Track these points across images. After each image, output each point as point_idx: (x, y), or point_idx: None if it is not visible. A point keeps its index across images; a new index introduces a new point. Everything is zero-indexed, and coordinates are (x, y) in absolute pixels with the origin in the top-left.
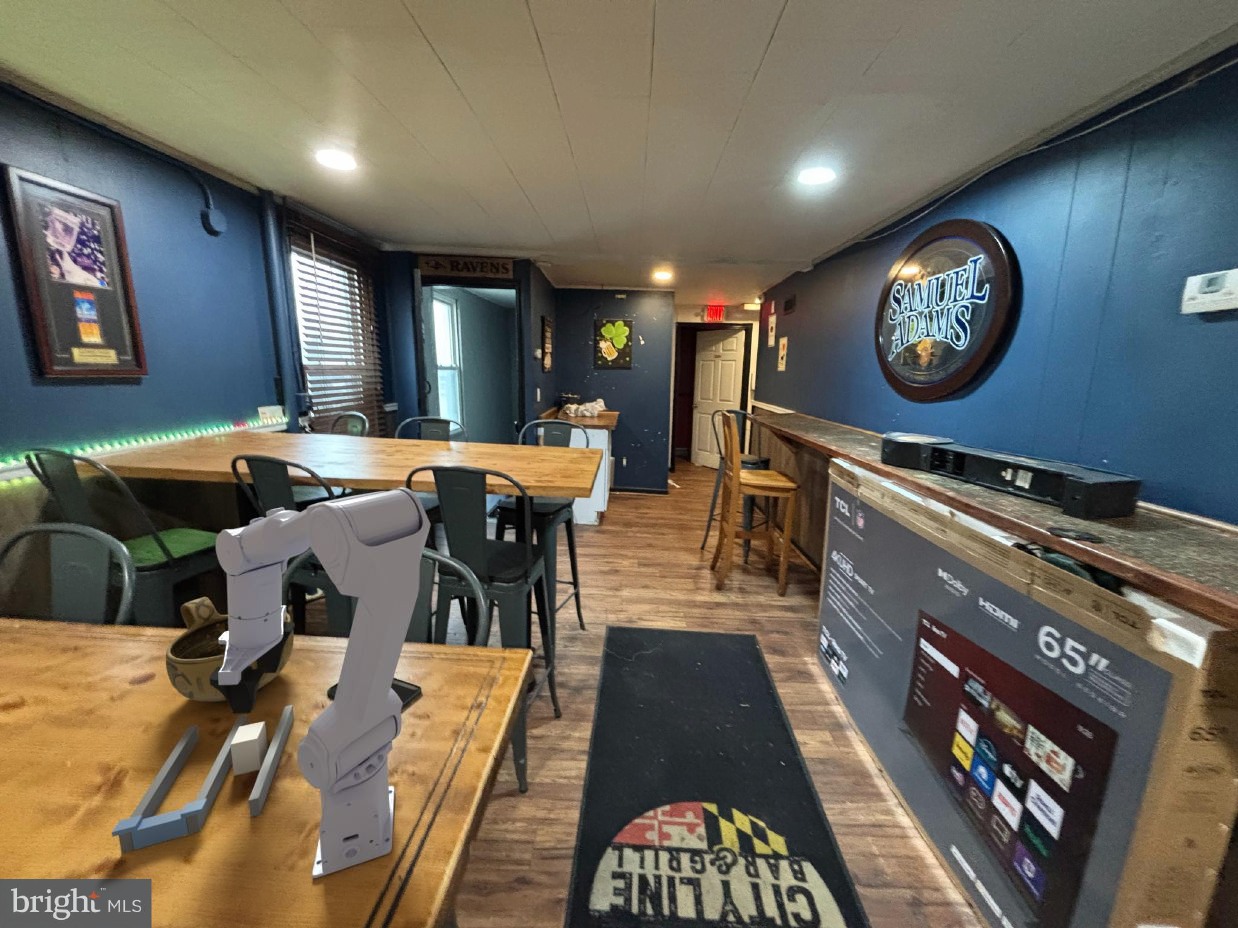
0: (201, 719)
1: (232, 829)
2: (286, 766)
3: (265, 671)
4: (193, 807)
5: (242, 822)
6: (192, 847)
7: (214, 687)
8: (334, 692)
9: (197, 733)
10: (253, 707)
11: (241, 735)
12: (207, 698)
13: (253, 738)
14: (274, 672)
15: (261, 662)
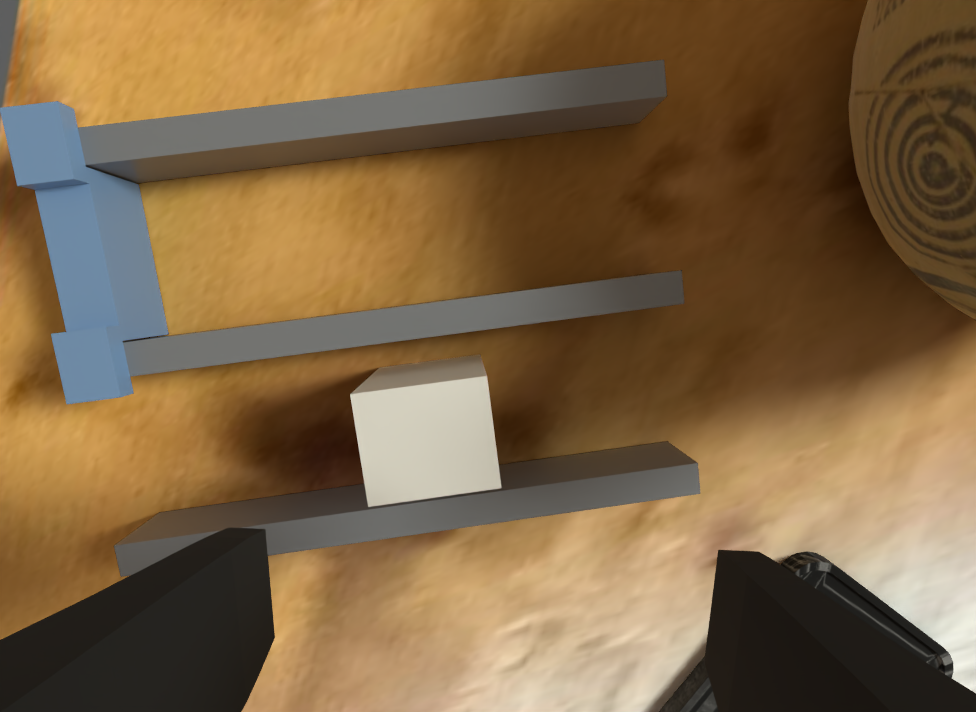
0: (777, 64)
1: (119, 475)
2: (383, 540)
3: (720, 601)
4: (78, 368)
5: (143, 494)
6: None
7: (885, 76)
8: None
9: (641, 112)
10: (267, 652)
11: (409, 419)
12: (855, 51)
13: (372, 487)
14: (707, 655)
15: (776, 651)
